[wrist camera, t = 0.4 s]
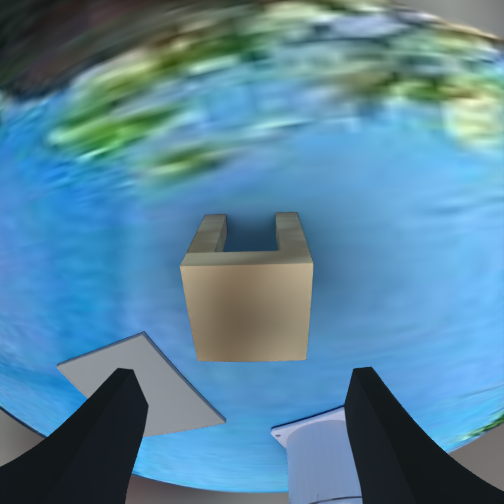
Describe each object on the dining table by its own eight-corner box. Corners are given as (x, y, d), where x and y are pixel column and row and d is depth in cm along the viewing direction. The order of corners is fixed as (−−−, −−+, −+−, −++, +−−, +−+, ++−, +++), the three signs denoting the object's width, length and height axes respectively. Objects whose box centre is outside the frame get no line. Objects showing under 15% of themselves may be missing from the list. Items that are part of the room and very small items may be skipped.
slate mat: (226, 419, 26) (225, 422, 26) (134, 435, 29) (133, 437, 28) (144, 331, 22) (142, 334, 21) (57, 364, 24) (56, 366, 24)
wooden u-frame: (296, 212, 18) (313, 263, 12) (295, 290, 20) (306, 359, 14) (205, 215, 18) (180, 266, 12) (213, 292, 20) (197, 360, 14)
